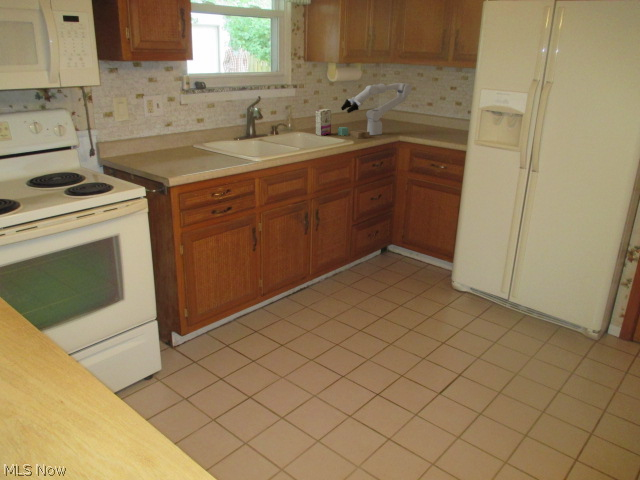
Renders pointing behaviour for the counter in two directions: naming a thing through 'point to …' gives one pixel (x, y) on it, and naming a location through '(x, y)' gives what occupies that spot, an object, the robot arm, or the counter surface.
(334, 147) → the counter surface
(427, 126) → the counter surface
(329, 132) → the candy bar box
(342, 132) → the teal cube
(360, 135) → the walnut block
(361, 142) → the counter surface
